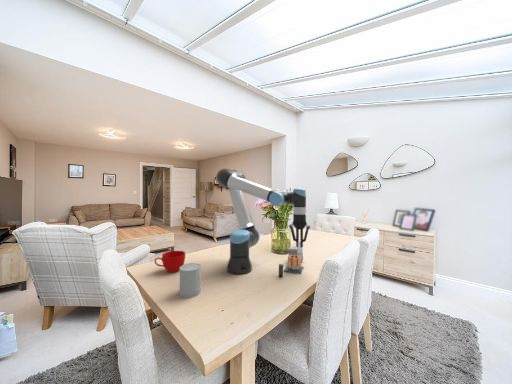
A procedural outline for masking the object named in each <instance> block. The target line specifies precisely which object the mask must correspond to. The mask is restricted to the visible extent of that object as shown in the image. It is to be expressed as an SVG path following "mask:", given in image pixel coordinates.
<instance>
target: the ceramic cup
mask: <svg viewBox="0 0 512 384" xmlns="http://www.w3.org/2000/svg"><path fill="white" fill-rule="evenodd" d="M185 259H186V252H185V251H183V250H169V251H166V252H164V253H162V256H161V257H158V256H157V257H156V258H155V259H154V264H155V265H156V266H158V267H164V269H165V270H166V271H167V272H168V273H177V272H180V266H182V265H185ZM157 260H161V262H162V264H159V263H157Z"/></svg>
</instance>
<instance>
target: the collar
mask: <svg viewBox="0 0 512 384" xmlns="http://www.w3.org/2000/svg"><path fill="white" fill-rule="evenodd" d="M287 265H288V266H291V267H302V261H301V256H299V255H289V254H288V256H287Z"/></svg>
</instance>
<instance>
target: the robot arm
mask: <svg viewBox="0 0 512 384" xmlns="http://www.w3.org/2000/svg"><path fill="white" fill-rule="evenodd" d="M243 177H244V176H243V175H242V173H241V172H240V171H238V170H236V169H230V168H222V169H220V170H219V171H217V173H216V175H215V179H216V182H217V183H218V185H220V186H221V187H225V190H226V192H228V193H229V197H230V199H231V200H230V201H231V203H232V206H233V210H234V214H235V218H236V221H237V225H238V228H237V229H235V230H233V231H232V232H231V233H230V235H229V251H230V252H229V259H228V262H227V265H226V272H228V273H229V274H234V275H245V274H248V273H251V272H252V270H253V265H252V261H251V258H250V249H251V248H252V247H254V246H255V245H256V244H258V243H259V240H260V236H261V235H260V232H259V230H258V229H256V227H255V224H254V223H252V221H251V217H250V215H249V210H248V208H247V207H248V206H247V204H246V202H245V197H244V194H243V193H245V194H247V195H251V196H253V197H254V198H255V197H256V198H257V199H259V200H263V201H266V202H268V203H270V204H271V205H273V206H276V207H278V206H281V205H293V209H292V211H293V215H292V217H293V218H292V219H293V221H292V223H291V224H289V225H288V227H289V229H290V233H291V236H292V240H293V242H294V241H295V243H296V245H295V246H296V247H298V253H301V248H302V249H303V247H304V242H306V241H307V238H308V233H309V229H311V225H309V224H308V223H307V215H306V214H307V191H306V189H305V188H293V191H277V190H274V189H271V187H270V188H269V187H266V186H264V185H261V184H258V183H255V182H253V181H250V180H247V179H245V178H243ZM294 228H295V229H294ZM305 228H306V229H305ZM304 229H305V231H304ZM304 232H305V233H304ZM299 234H300V236H299Z"/></svg>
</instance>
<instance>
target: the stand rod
mask: <svg viewBox="0 0 512 384" xmlns="http://www.w3.org/2000/svg"><path fill="white" fill-rule="evenodd" d="M278 277H279V278H283V277H284V264H283V263H282V264H278Z"/></svg>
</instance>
